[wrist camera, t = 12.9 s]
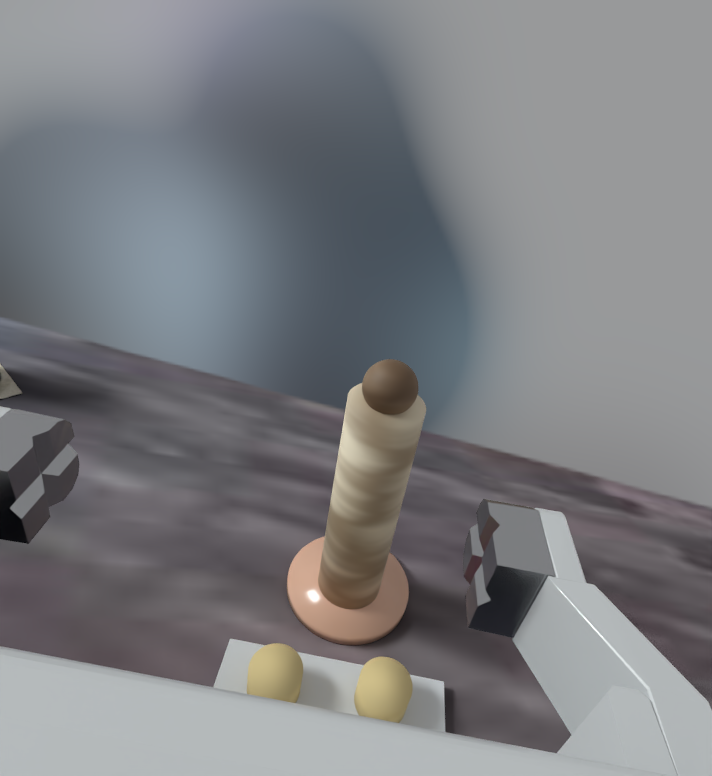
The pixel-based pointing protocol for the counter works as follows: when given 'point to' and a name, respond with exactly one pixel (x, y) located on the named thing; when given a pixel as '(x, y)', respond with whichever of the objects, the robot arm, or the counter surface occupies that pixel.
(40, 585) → the counter surface
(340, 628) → the coaster
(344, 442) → the pepper mill
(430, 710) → the mat
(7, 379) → the condiment
